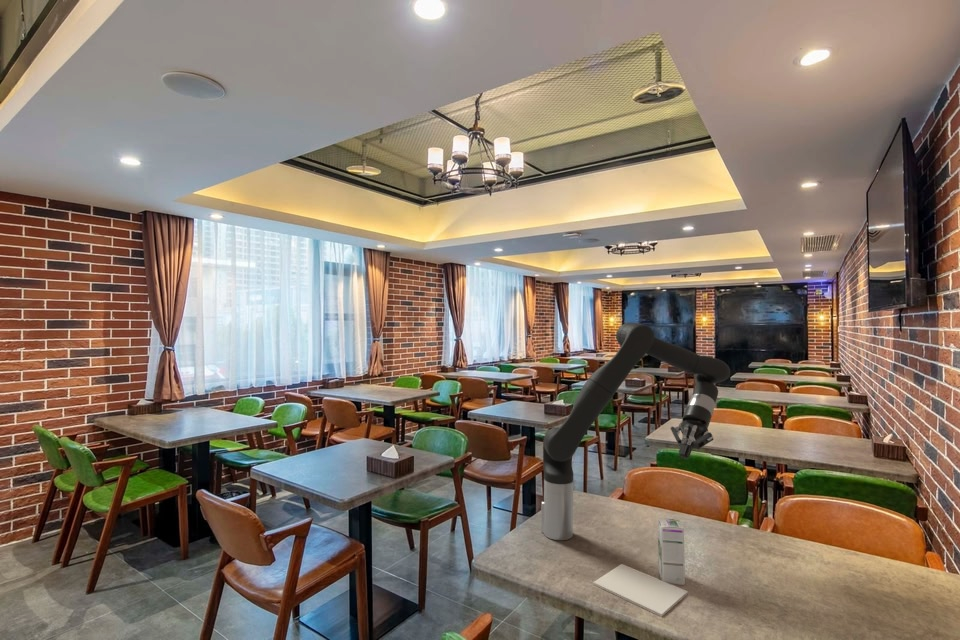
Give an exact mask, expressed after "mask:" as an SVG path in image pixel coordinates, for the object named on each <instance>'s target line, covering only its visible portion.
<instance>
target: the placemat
mask: <svg viewBox="0 0 960 640" xmlns="http://www.w3.org/2000/svg"><path fill="white" fill-rule="evenodd" d="M592 584H593V586H595V587H596V588H597V587H598V589H599V588H600V589H602V590H604V591H606V592H608V593H610V594H612V595H615V596H617V597H619V598H621V599H623V600H625V601H627V602H630V603H632V604H633V605H635V606H637V607H640V608H641V609H644V610H646V611H648V612H649V613H650V612H651V613H653V614H654V615H657V616H658V617H661V618H662V617H663V616H665V615H666V614H667V613H668V612H669V611H671V609H672V608H674V606H676V604H679V602H680V601H681V600H682V599H684V598H685V597H686V596H687V595H688V594H689V593H688V590H685V589H683V588H681V587H680V586H679V587H678V586H676V585H675V584H670V583H666V582H664V581H662V580H661V579H659V578H657V577H654V576H652V575H649V574H647V573H644V572H643V571H640V570H637V569H634V568H633V567H629V565H626V564H623V563H621V564H619V565H617V566H616V567H615V568H613V569H612V570H610V571H609V572H607V573H605V574H604V575H602V576H600V577H599V578H598V579H596V580H594V581H593V582H592Z"/></svg>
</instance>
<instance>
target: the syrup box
mask: <svg viewBox="0 0 960 640" xmlns="http://www.w3.org/2000/svg"><path fill="white" fill-rule="evenodd" d="M657 542H658V543H657V548H658V549H657V550H658V551H657V553H658V554H657V555H658V556H657V557H658V559H657V560H658V562H657V565H658V568H657V569H658V574H659V577H660V580H662V581H664V582H666V583H669V584H671V585H678V586H679V585H681V586H685V584H686V582H685V581H686V580H685V579H686V577H685V576H686V572H685V571H686V570H685V567H686V566H685V563H686V561H685V558H686V557H685V529H684V527H683V525H682V523H681V521H680V520H679V519H674V518H659V517H658V518H657Z"/></svg>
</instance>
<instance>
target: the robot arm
mask: <svg viewBox="0 0 960 640" xmlns="http://www.w3.org/2000/svg"><path fill="white" fill-rule="evenodd" d="M616 341H617V343H618V344H619V346H620V347H619V349H618V350H617V352H616V353H615V354H614V356H613V357H612V358H611V359H609V360H608V361H607V362H606V363H604V364H603V365H601V366H600V367H598V368H597V369H596V370H595V371H594V372H593V373H592V374H591V375H590V376H589V377H588V379H587V380H586V381H585V383H584V385H583V386H582V387H581V389H580V390H579V392H578V393H577V394H578V395H577V396H576V399H575V401H574V404H573V407H572V409H571V411H570V412H569V415H568V417H566V419H565V420H564V422H563V423H562V424H561V426H560V427H552V428H550V429H548V430H547V431H546V433H544V434H545V435H544V437H543V441H542V442H543V443H542V459H543V461H542V465H543V466H542V467H543V501H541V504H540V505H541V506H540V507H541V509H540V512H541V513H540V518H541V519H540V532H541V533H542V534H543V535H544V536H545V537H546V538H548V539H551V540H555V541H568V540H569V539H572V538H573V536H574V471H573V463H572V457H573V456H574V454H575V453H576V451H577V449H578V448H579V445H580V444H581V442H582V440H583V439H584V437H585V435H586V434H587V432H588V431H589V429H590V427H591V426H592V425H593V424H594V422H595V421H596V420H597V419H598V417H599V416H600V414H601V413H602V411H603V410H604V409H605V407H607V405H608V404H609V403H610V401H611V400H612V398H613V397H614V396H615V394H616V393H617V391H618V390H619V388H620V386H621V385H622V384H623V383H624V381H625V380H626V379H627V377H628V375H629V374H630V373H631V371H632V370H633V369H634V368H635V366H636V365H637V364H638V363H639V362H640V361H641V360H642V358H644V356H645V355H647V356H651V357H653V358H655V359H656V360H659V361H661V362H663V363H665V364H668V365H669V366H671V367H674V368H676V369H677V370H680V371H682V372H685V373H687V374H688V375H694V386H695V387H694V390H693V392H692V395H691V397H690V399H689V401H688V403H687V407H686V409H685V411H684V414H683V416H682V421H681V422H680V423H679V424H678V426H675V427H674V426H671V427H670V431H671V433H672V435H673V437H674V438H675V441H676V443H677V444H678V446H680V447H679V450H678V454H679V457H680V458H681V459H683V460H687V459H689V458H690V457H691V453H692V450H693V449H697V450H699V449H701V448H703V447H705V446H706V445H707V444H709V443H710V442H712V441H713V440H714V439H715V438H714V436H713V434H712V432H709V429H708V428H709V425H710V423H711V420H712V417H713V415H714V411H715V404H716V402H717V398H718V396H719V390H718V387H717V386H716V385H715V384H718V383H721V382H724V381H726V380H728V379H729V378H730V376H731V370H730V366H729V365H728V364H727V363H726V362H725V361H723V360H721V359H719V358H716V357H710V356H707V355H699V354H698V353H696V352H693V351H692V350H689V349H688V348H687V349H686V348H684V347H682V346H679V345H676V344H673V343H671V342H668V341H665V340H662V339H660V338H657V337H656V336H655V332H654V330H653V328H652V327H651V326H649V325H646V324H642V323H640V322H639V323H638V322H626V323H624V324H621V325H620V326H619V327H618V329H617V331H616ZM680 432H681V434H682V436H681V437H682V438H680V437H679V435H680Z"/></svg>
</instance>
